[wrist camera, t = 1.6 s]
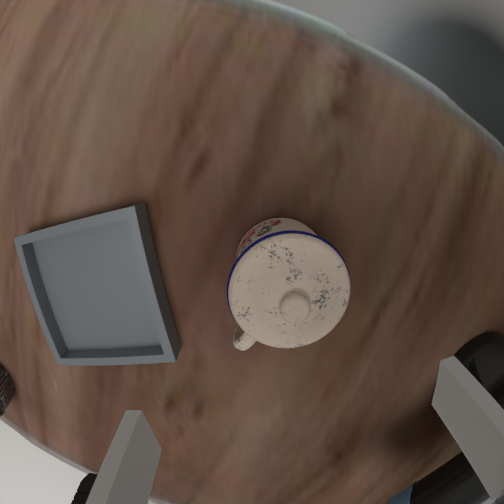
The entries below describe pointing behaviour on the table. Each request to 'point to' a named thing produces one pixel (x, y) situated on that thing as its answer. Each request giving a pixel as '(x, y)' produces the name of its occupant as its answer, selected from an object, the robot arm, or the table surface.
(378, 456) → the table surface
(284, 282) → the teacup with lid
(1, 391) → the cupcake
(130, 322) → the square tray
